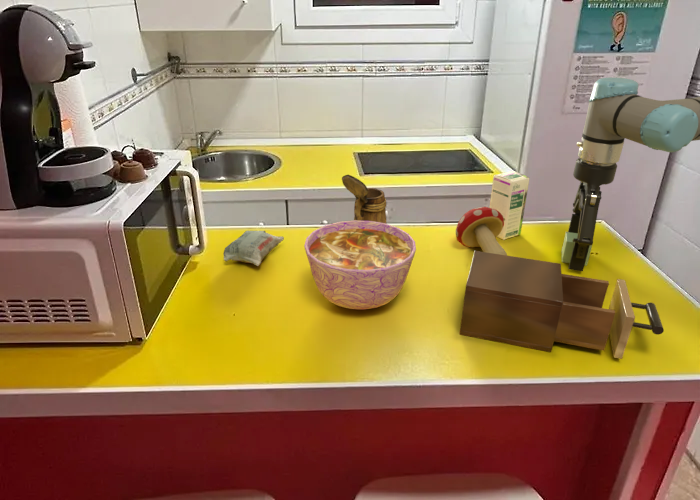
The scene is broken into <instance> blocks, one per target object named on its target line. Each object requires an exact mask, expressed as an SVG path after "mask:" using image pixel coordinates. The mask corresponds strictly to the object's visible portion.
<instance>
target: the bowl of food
mask: <svg viewBox="0 0 700 500" xmlns="http://www.w3.org/2000/svg"><path fill="white" fill-rule="evenodd" d="M416 246H417V245H416V241H415V240H414V239H413V237H412V236H411V235H410V233H408V232H406V231H405V230H403V229H402V228H400V227H397V226H394V225H392V224H388V223H387V224H385V223H380V222H374V221H357V220H354V219H353V220H346V221H345V220H344V221H337V222H333V223H330V224H329V223H328V224H326V225H323V226H320V227H319V228H317V229H315V230H313V231H312V232H311V233H310V234H309V235H308V236H306V238H305V242H304V246H303V247H304V251H305V254H306V257H307V260H308V264H309V268H310V271H311V274H312V277H313V279H314V282H315V285H316V287H317V290H318V292H319V293H321V295H322V296H323V297H324V298H325V299H326V300H327V301H328V302H329V303H332V304H334V305H336V306H338V307H340V308H341V307H342V308H346V309H350V310H360V311H361V310H363V311H364V310H369V309H377V308H379V307H382V306H384V305H387V304H389V303H390V302H391V301H392V300H394V299H395V298H396V297H397V296H398V295H399V294H400V293H401V291H402V289H403V287H404V285H405V282H406V280H407V277H408V274H409V272H410V269H411V267H412V266H411V265H412V263H413V260H414V258H415V254H416V252H417V247H416Z"/></svg>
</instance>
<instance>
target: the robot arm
mask: <svg viewBox="0 0 700 500" xmlns="http://www.w3.org/2000/svg"><path fill="white" fill-rule="evenodd" d="M638 90H639V82H638V81H636V80H634V79H630V78H624V77H602V78H599V79H597V80H596V81H595V82H594V84H593V88H592V92H591V95H590V98H589V100H588V107H587V111H586V117H585V121H584V127H583V130H582V133H581V134H582V135H581V141H577V142H576V146H577V147H579V149H578V153H577V156H578V158H577V159H576V160H575V165H574V169H573V174H572V175H573V178H574V179H576V180H577V181H579V182H580V183H579V185H578V188H577V191H576V195H575V197H574V201H573V203H572V207H573V208H572V214H571V218H570V222H569V225H568V230H567V232H571V233H578V235H577V239H575V238H574V239H573V242H575V244H574V248H573V252H572V256H571V260H570V263H568V264H569V265H568V270H570V271H577V272H584V269H585V261H586V258H587V254H588V250H589V246H590V245H592V246H593V244H594V236H595V230H596V225H597V219H598V214H599V207H600V203H601V200H602V191H601V186H604V185H609V184H612V183H613V182H614V180H615V177H616V172H617V169H618V164H617V163H618V162H619V161H620V159H621V155H622V151H623V149H624V144H625V139H626V140H628V141H631V142H634V143H638V144H640V145H643V146H646V147H648V148H650V149H652V150H654V151H655V150H656V151H661V152H662V151H663V152H667V153H676V152H679V151H681V150H682V148H684V147H687V146H688V145H690V143H691V142H694V141H695V142H696V141H700V96H697V97H686V98H678V99H667V100H659V99H653V98H648V97H644V96H640V95H639V91H638ZM584 237H585V238H584Z"/></svg>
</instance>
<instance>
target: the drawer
mask: <svg viewBox="0 0 700 500" xmlns="http://www.w3.org/2000/svg"><path fill="white" fill-rule="evenodd" d="M561 276H562V292H563V305H562V309H561V313H560V317H559V321H558V326H557V330H556V334H555V338H554V342H556V343H561V344H567V345H572V346H577V347H582V348H588V349H593V350H597V351H598V350H599V351H603V352H604V351H605V349H606V345H607V343H608V340H609V339H610V345H611V350H612V356H613V358H615V359H621V360H623V357H624V353H625V351H626V347H627V345H628V341H629V338H630V335H631V332H632V328H637V329H641V330H642V329H643V330H648V331H651V332H652V333H653V334H654V335H656V336H657V335H658V336H659V335H662V334H663V333H664V332H665V331H664V330H665V329H664V325H663V323H662V321H661V317H660V315H659V312H658V308H657V306H656V304H655V303H654V302H646V303H645V304H642V303H637V302H632V301H631V298H630V294H629V290H628V286H627V281H626V280H625V279H620V278H617V279H616V282H615V285H614V290H613V291H612V296H611V300H610V303H609V306H608V308H604V307H603V305H604V302H605V298H606V295H607V291H608V288H609V285H610V283H609V280H603V279H599V278H592V277H585V276H579V275H572V274H565V273H561ZM634 309H639V310H644V311H645V313H646V316H647V320H648V323H649V324H647V323H641V322H636V321H635V319H636V315H635V312H634ZM608 338H609V339H608Z"/></svg>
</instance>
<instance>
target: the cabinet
mask: <svg viewBox="0 0 700 500" xmlns="http://www.w3.org/2000/svg"><path fill="white" fill-rule="evenodd" d="M468 271H469V272H468V276H467V279H466V283H465V289H464V290H465V291H464V295H463V305H462V312H461V319H460V327H459V335H461V336H466V337H470V338H476V339H480V340H486V341H490V342H496V343H501V344H506V345H511V346H517V347H521V348H527V349H532V350H537V351H542V352H548V353H552V352H553V351H552V350H553V347H554V342H555V341H554V338H555V334H556V330H557V326H558V321H559V317H560V313H561V309H562V305H563V292H562V276H561V274H562V264H561V263H559V262H552V261H546V260H539V259H533V258H526V257H521V256H520V257H519V256H514V255H513V256H512V255H508V254H507V255H500V254H493V253H487V252H483V251H479V250H474V252H473V256H472V259H471V263H470V268H469V270H468Z"/></svg>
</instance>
